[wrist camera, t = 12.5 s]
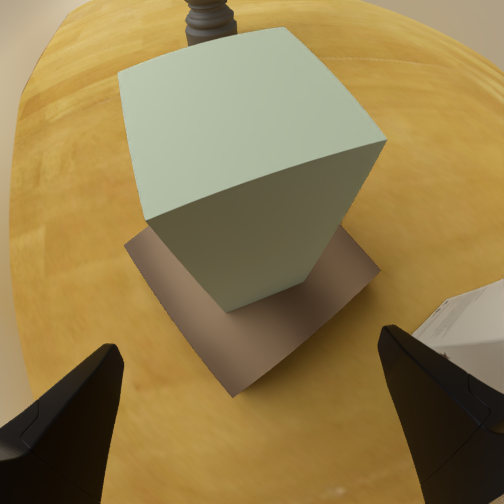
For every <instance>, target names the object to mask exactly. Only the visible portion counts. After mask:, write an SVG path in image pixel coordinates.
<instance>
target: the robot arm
mask: <svg viewBox="0 0 504 504" xmlns="http://www.w3.org/2000/svg"><path fill="white" fill-rule="evenodd" d="M378 352H379V355H380V359H381V363H382V367H383V371H384V375H385V379H386V382H387V386H388V389H389V392H390V394H391V397H392V400H393V403H394V405H395V408H396V411H397V414H398V416H399V419H400V422H401V425H402V428H403V431H404V434H405V437H406V440H407V443H408V446H409V449H410V452H411V455H412V458H413V462H414V465H415V468H416V472H417V475H418V478H419V482H420V484H421V489H422V493H423V497H424V500H425V504H504V394H503V393H501V392H499V391H497V390H496V389H494V388H492V387H490V386H488V385H487V384H485V383H484V382H482V381H480V380H479V379H477V378H476V377H474V376H473V375H471V374H470V373H468V374H467V372H466V371H465V370H463V369H462V368H460V367H459V366H457V365H456V364H454V363H453V362H451V361H450V360H448V359H447V358H445V357H444V356H442V355H441V354H439V353H438V352H436V351H435V350H433V349H431V348H430V347H428V346H427V345H425V344H424V343H422V342H421V341H419V340H418V339H416V338H415V337H413V336H411V335H410V334H408V333H407V332H405V331H404V330H402V329H401V328H399V327H398V326H396V325H393V324H392V325H386V326H383V328H382V330H381V333H380V337H379V341H378ZM123 371H124V361H123V358H122V356H121V354H120V352H119V350H118V347H117V346H116V345H115V344H108V343H106V344H103V345H102V346H101V347H100V348H98V349H97V350H96V351H95V352H94V353H92V354H91V355H90V356H89V357H87V358H86V359H85V360H84V361H83V362H81V363H80V364H79V365H78V366H77V367H75V368H74V369H73V370H72V371H71V372H69V373H68V374H67V375H66V376H65V377H63V378H62V379H61V380H60V381H59V382H57V383H56V384H55V385H54V386H53V387H52V388H50V389H49V390H48V391H47V392H46V393H44V394H43V395H42V396H41V397H40V398H39V399H37V400H36V401H35V402H34V403H33V404H32V405H30V406H29V407H28V408H27V409H25V410H24V411H23V412H22V413H20V414H19V415H18V416H16V417H15V418H14V419H12V420H11V421H9V422H8V423H7V424H5V425H4V426H2V427H1V428H0V504H101V503H100V502H101V496H102V489H103V483H104V476H105V470H106V465H107V459H108V454H109V449H110V443H111V438H112V434H113V429H114V424H115V420H116V415H117V411H118V406H119V401H120V394H121V386H122V378H123Z"/></svg>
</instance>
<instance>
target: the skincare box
mask: <svg viewBox="0 0 504 504" xmlns="http://www.w3.org/2000/svg"><path fill="white" fill-rule="evenodd" d="M411 336H413V337H415V338H416V339H418V340H419V341H421V342H422V343H424V344H425V345H427V346H428V347H430V348H431V349H433V350H435V351H436V352H438V353H439V354H441V355H442V356H444V357H445V358H447V359H448V360H450V361H451V362H453V363H454V364H456V365H457V366H459V367H460V368H462V369H463V370H465V371H466V372H467V374H468V373H470V374H471V375H473V376H474V377H476V378H477V379H479V380H480V381H482V382H484V383H485V384H487V385H488V386H490V387H492V388H494V389H496V390H497V391H499V392H501V393H503V394H504V279H502V280H499V281H496V282H494V283H491V284H489V285H486V286H483V287H481V288H478V289H475V290H472V291H469V292H466V293H463V294H460V295H457V296H454V297H451V298H448V299H446V300H445V301H444V302H443V303H442V304H441V305H440V306H439V307H438V308H437V309H436V310H435V311H434V313H433V314H432V315H431V316H430V317H429V318H428V319H427V320H426V321H425V322H424V323H423V324H422V325H421V326H420V327H419V328H418V329H417V330H416V331H415V332H414V333H413V334H412V335H411Z"/></svg>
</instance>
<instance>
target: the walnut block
mask: <svg viewBox="0 0 504 504" xmlns="http://www.w3.org/2000/svg"><path fill="white" fill-rule="evenodd" d="M124 247H125V248H126V250H127V252H128V253H129V255H130V257H131V258H132V260H133V261H134V263H135V265H136V266H137V268H138V269H139V271H140V273H141V274H142V276H143V277H144V279H145V280H146V282H147V283H148V285H149V287H150V288H151V290H152V291H153V293H154V294H155V296H156V297H157V299H158V300H159V301H160V303H161V304H162V306H163V307H164V309H165V310H166V312H167V313H168V315H169V316H170V317H171V319H172V320H173V322H174V323H175V324H176V326H177V327H178V329H179V330H180V331H181V333H182V334H183V336H184V337H185V338H186V340H187V341H188V342H189V344H190V345H191V346H192V348H193V349H194V350H195V352H196V353H197V354H198V356H199V357H200V358H201V359H202V361H203V362H204V363H205V365H206V366H207V367H208V368H209V370H210V371H211V372H212V373H213V375H214V376H215V377H216V378H217V380H218V381H219V382H220V383H221V385H222V386H223V387H224V388H225V389H226V391H227V392H228V393H229V394H230V395H231V397H232V398H233V397H235V396H236V395H237V394H239V393H240V392H241V391H243V390H244V389H246V388H247V387H248V386H250V385H251V384H252V383H254V382H255V381H256V380H257V379H259V378H260V377H261V376H263V375H264V374H265V373H266V372H268V371H269V370H270V369H272V368H273V367H274V366H275V365H277V364H278V363H279V362H280V361H282V360H283V359H284V358H285V357H287V356H288V355H289V354H290V353H291V352H293V351H294V350H295V349H296V348H297V347H299V346H300V345H301V344H302V343H303V342H305V341H306V340H307V339H308V338H309V337H310V336H312V335H313V334H314V333H315V332H316V331H317V330H318V329H320V328H321V327H322V326H323V325H324V324H325V323H326V322H327V321H329V320H330V319H331V318H332V317H333V316H334V315H335V314H336V313H337V312H338V311H340V310H341V309H342V308H343V307H344V306H345V305H346V304H347V303H348V302H349V301H350V300H351V299H352V298H353V297H355V296H356V295H357V294H358V293H359V292H360V291H361V290H362V289H363V288H364V287H365V286H366V285H367V284H368V283H369V282H370V281H371V280H372V279H373V278H374V277H375V276H376V275H377V274H378V273H379V272H380V271H381V270H380V269H379V268H378V266H377V265H376V264H375V263H374V262H373V261H372V259H371V258H370V257H369V256H368V255H367V254H366V253H365V252H364V250H363V249H362V248H361V247H360V246H359V245H358V244H357V243H356V242H355V240H354V239H353V238H352V237H351V236H350V235H349V234H348V233H347V232H346V231H345V230H344V228H343V227H342V226H341V225H339V226H338V228H337V230H336V231H335V233H334V234H333V236H332V238H331V239H330V241H329V243H328V244H327V246H326V248H325V249H324V251H323V252H322V254H321V256H320V257H319V259H318V260H317V262H316V264H315V265H314V267H313V268H312V270H311V272H310V273H309V275H308V276H307V278H306V279H305V281H304V282H302V283H300V284H297V285H295V286H293V287H290V288H288V289H285V290H283V291H280V292H278V293H276V294H273V295H271V296H268V297H266V298H263V299H261V300H258V301H256V302H253V303H251V304H248V305H246V306H243V307H240V308H238V309H235V310H233V311H230V312H227V313H225V312H224V310H223V309H222V308H221V307H220V306H219V305H218V304H217V303H216V302H215V301H214V300H213V299H212V297H211V296H210V295H209V294H208V293H207V292H206V291H205V290H204V289H203V287H202V286H201V285H200V284H199V283H198V282H197V281H196V280H195V278H194V277H193V276H192V275H191V274H190V273H189V272H188V271H187V269H186V268H185V267H184V266H183V265H182V264H181V263H180V261H179V260H178V259H177V258H176V257H175V256H174V254H173V253H172V252H171V251H170V250H169V249H168V247H167V246H166V245H165V244H164V243H163V241H162V240H161V239H160V238H159V237H158V235H157V234H156V233H155V232H154V231H153V229H152V228H151V227H150V226H148V227H147V228H145V229H144V230H143V231H141V232H140V233H139V234H137V235H136V236H135V237H134V238H132V239H131V240H130V241H129V242H127V243H126V244H125V245H124Z"/></svg>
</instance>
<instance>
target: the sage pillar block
mask: <svg viewBox="0 0 504 504" xmlns="http://www.w3.org/2000/svg"><path fill="white" fill-rule="evenodd" d="M118 80H119V88H120V95H121V102H122V109H123V115H124V121H125V127H126V133H127V139H128V144H129V150H130V155H131V160H132V165H133V170H134V174H135V179H136V184H137V188H138V193H139V197H140V201H141V205H142V210H143V214H144V218H145V221H146V222H147V223H148V225H149V226H150V227H151V228H152V229H153V231H154V232H155V233H156V234H157V235H158V237H159V238H160V239H161V240H162V241H163V243H164V244H165V245H166V246H167V247H168V249H169V250H170V251H171V252H172V253H173V254H174V256H175V257H176V258H177V259H178V260H179V261H180V263H181V264H182V265H183V266H184V267H185V268H186V269H187V271H188V272H189V273H190V274H191V275H192V276H193V277H194V278H195V280H196V281H197V282H198V283H199V284H200V285H201V286H202V287H203V289H204V290H205V291H206V292H207V293H208V294H209V295H210V296H211V297H212V299H213V300H214V301H215V302H216V303H217V304H218V305H219V306H220V307H221V308H222V309H223V310H224V312H225V313H227V312H230V311H233V310H235V309H238V308H240V307H243V306H246V305H248V304H251V303H253V302H256V301H258V300H261V299H263V298H266V297H268V296H271V295H273V294H276V293H278V292H280V291H283V290H285V289H288V288H290V287H293V286H295V285H297V284H300V283H302V282H304V281H305V279H306V278H307V276H308V275H309V273H310V272H311V270H312V268H313V267H314V265H315V264H316V262H317V260H318V259H319V257H320V256H321V254H322V252H323V251H324V249H325V248H326V246H327V244H328V243H329V241H330V239H331V238H332V236H333V234H334V233H335V231H336V230H337V228H338V226H339V225H340V223H341V221H342V219H343V218H344V216H345V214H346V213H347V211H348V209H349V208H350V206H351V204H352V202H353V201H354V199H355V197H356V195H357V194H358V192H359V190H360V188H361V187H362V185H363V183H364V181H365V180H366V178H367V176H368V174H369V172H370V171H371V169H372V167H373V165H374V163H375V162H376V160H377V158H378V156H379V154H380V152H381V150H382V149H383V147H384V145H385V143H386V141H387V138H386V137H385V135H384V134H383V133H382V131H381V130H380V129H379V127H378V126H377V125H376V124H375V122H374V121H373V120H372V118H371V117H370V116H369V115H368V114H367V112H366V111H365V110H364V109H363V107H362V106H361V105H360V104H359V103H358V101H357V100H356V99H355V98H354V97H353V96H352V94H351V93H350V92H349V91H348V90H347V89H346V88H345V86H344V85H343V84H342V83H341V82H340V81H339V80H338V79H337V78H336V77H335V76H334V74H333V73H332V72H331V71H330V70H329V69H328V68H327V67H326V66H325V65H324V64H323V63H322V62H321V61H320V60H319V59H318V58H317V57H316V56H315V55H314V54H313V53H312V52H311V51H310V50H309V49H308V48H307V47H306V46H305V45H304V44H303V43H301V42H300V41H299V40H298V39H297V38H296V37H295V36H294V35H293V34H292V33H290V32H289V31H288V30H287V29H286V28H285V27H278V28H271V29H264V30H258V31H253V32H247V33H242V34H237V35H233V36H228V37H224V38H219V39H215V40H211V41H207V42H204V43H200V44H196V45H193V46H189V47H186V48H183V49H180V50H176V51H173V52H170V53H167V54H164V55H161V56H159V57H156V58H153V59H150V60H148V61H145V62H142V63H140V64H137V65H135V66H132V67H130V68H127V69H125V70H123V71H120V72H118Z"/></svg>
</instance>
